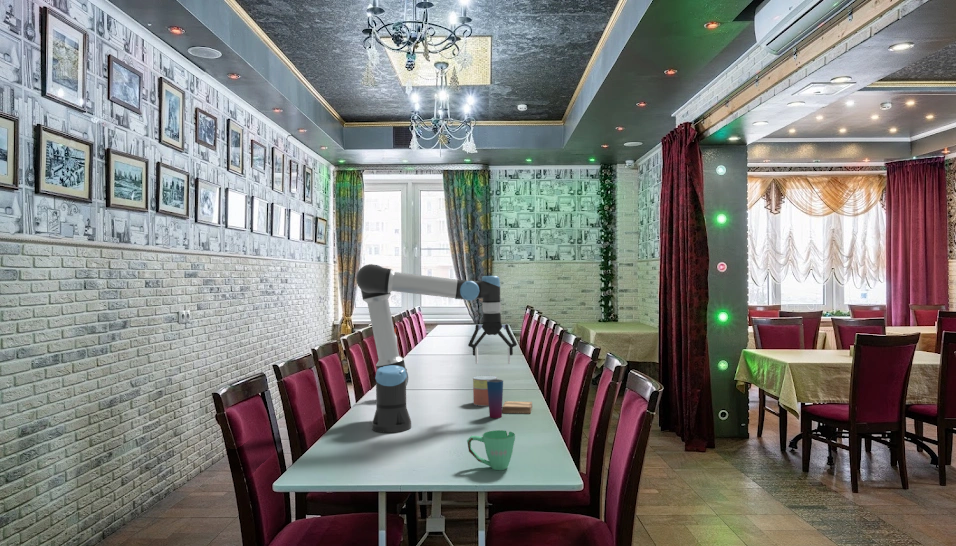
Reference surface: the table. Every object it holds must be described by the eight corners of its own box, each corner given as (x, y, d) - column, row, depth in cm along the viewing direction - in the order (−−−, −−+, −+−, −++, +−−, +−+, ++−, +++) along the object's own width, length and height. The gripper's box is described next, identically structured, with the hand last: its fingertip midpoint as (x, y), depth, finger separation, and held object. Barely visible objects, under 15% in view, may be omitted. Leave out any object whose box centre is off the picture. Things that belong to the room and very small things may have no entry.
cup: (494, 414, 248) (493, 378, 249) (507, 416, 244) (506, 380, 244) (484, 417, 243) (483, 381, 243) (497, 419, 239) (496, 382, 239)
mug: (515, 462, 182) (515, 430, 182) (515, 472, 172) (514, 438, 172) (468, 462, 183) (468, 430, 183) (465, 472, 173) (465, 438, 173)
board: (530, 413, 248) (530, 407, 248) (502, 412, 250) (502, 406, 250) (532, 407, 260) (532, 401, 260) (505, 406, 262) (505, 401, 262)
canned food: (496, 406, 264) (495, 379, 264) (471, 405, 266) (471, 379, 266) (499, 401, 275) (498, 375, 275) (475, 400, 277) (475, 375, 277)
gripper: (522, 311, 247) (523, 362, 247) (463, 312, 250) (465, 362, 250) (520, 312, 239) (522, 364, 239) (460, 313, 243) (462, 364, 243)
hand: (493, 363), depth 245 cm, fingers open, 13 cm apart
